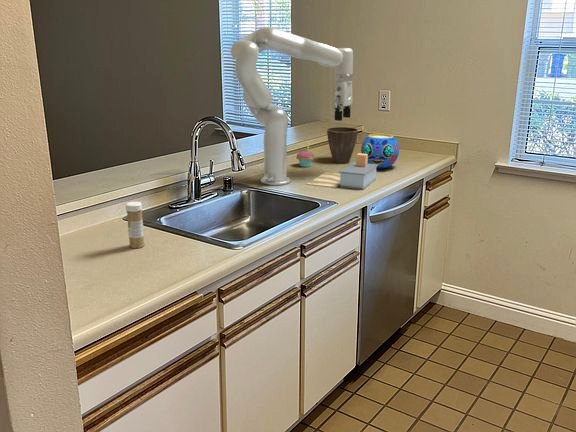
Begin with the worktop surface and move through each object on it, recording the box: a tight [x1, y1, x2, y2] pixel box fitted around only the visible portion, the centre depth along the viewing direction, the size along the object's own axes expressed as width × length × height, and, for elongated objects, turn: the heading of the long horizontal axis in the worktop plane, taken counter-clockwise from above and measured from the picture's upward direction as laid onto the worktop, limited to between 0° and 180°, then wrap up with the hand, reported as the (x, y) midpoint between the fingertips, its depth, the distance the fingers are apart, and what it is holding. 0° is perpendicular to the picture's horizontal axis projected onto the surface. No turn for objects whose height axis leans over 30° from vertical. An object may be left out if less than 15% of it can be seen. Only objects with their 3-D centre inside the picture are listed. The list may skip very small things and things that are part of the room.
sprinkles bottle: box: [125, 201, 145, 249], centre depth 176 cm, size 5×5×14 cm
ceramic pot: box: [360, 133, 400, 169], centre depth 275 cm, size 18×18×15 cm
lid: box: [338, 152, 378, 175], centre depth 247 cm, size 19×11×7 cm, turn 156°
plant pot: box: [326, 126, 359, 165], centre depth 286 cm, size 15×15×16 cm
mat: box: [306, 171, 340, 189], centre depth 255 cm, size 22×13×1 cm, turn 156°
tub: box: [339, 168, 377, 190], centre depth 249 cm, size 18×10×6 cm, turn 156°
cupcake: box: [295, 142, 315, 168], centre depth 279 cm, size 9×8×12 cm
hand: (342, 118), depth 256 cm, fingers open, 9 cm apart
